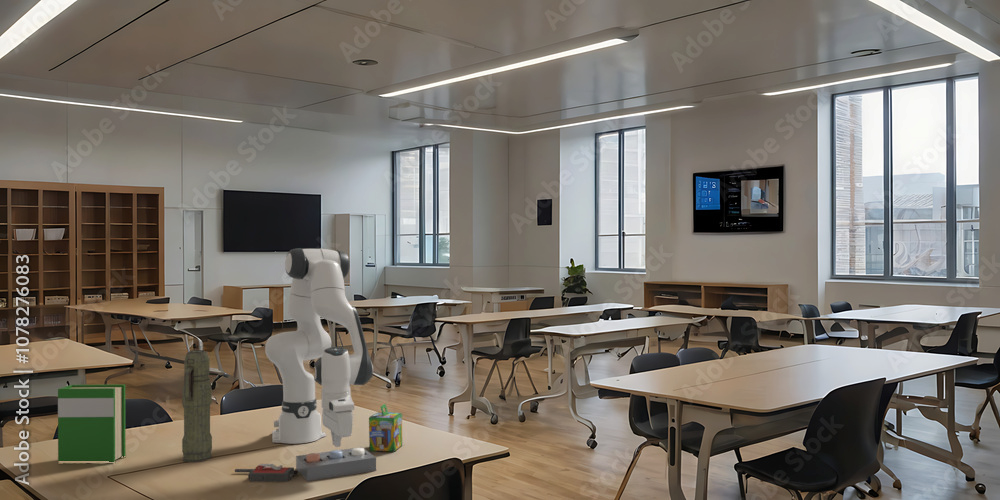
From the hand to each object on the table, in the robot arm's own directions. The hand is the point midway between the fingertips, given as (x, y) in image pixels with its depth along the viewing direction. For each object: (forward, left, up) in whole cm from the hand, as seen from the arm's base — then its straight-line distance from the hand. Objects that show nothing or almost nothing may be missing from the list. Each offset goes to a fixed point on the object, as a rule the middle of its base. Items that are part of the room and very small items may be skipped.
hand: (336, 445), depth 224 cm
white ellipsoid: (0, +7, -5) cm, 9 cm away
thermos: (-35, -36, -8) cm, 51 cm away
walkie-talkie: (-4, -21, -8) cm, 23 cm away
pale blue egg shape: (0, 0, -5) cm, 5 cm away
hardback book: (-49, -66, -8) cm, 83 cm away
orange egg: (0, -7, -5) cm, 9 cm away
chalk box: (-16, +22, -8) cm, 28 cm away
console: (0, 0, -7) cm, 7 cm away
